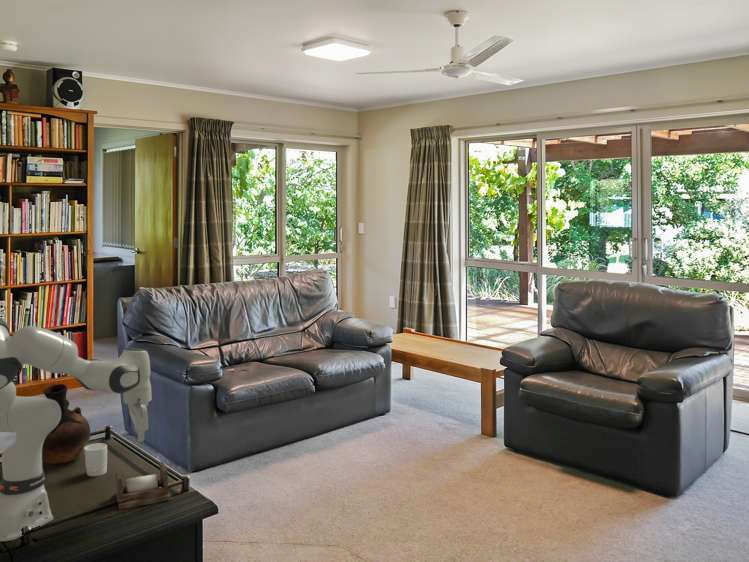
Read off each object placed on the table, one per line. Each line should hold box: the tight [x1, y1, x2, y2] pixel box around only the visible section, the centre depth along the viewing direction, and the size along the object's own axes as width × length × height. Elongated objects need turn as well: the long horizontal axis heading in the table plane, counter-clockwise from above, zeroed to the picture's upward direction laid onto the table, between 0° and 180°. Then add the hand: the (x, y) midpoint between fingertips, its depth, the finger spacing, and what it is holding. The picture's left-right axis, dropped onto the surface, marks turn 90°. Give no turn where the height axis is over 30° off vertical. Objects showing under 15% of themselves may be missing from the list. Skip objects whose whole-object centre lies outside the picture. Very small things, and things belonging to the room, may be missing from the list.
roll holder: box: [114, 461, 171, 510], centre depth 230 cm, size 16×13×10 cm
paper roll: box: [125, 473, 158, 494], centre depth 230 cm, size 10×6×6 cm, turn 115°
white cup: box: [83, 442, 108, 477], centre depth 251 cm, size 8×8×10 cm
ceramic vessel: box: [42, 383, 91, 464], centre depth 262 cm, size 21×18×30 cm
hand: (139, 436), depth 228 cm, fingers open, 8 cm apart
